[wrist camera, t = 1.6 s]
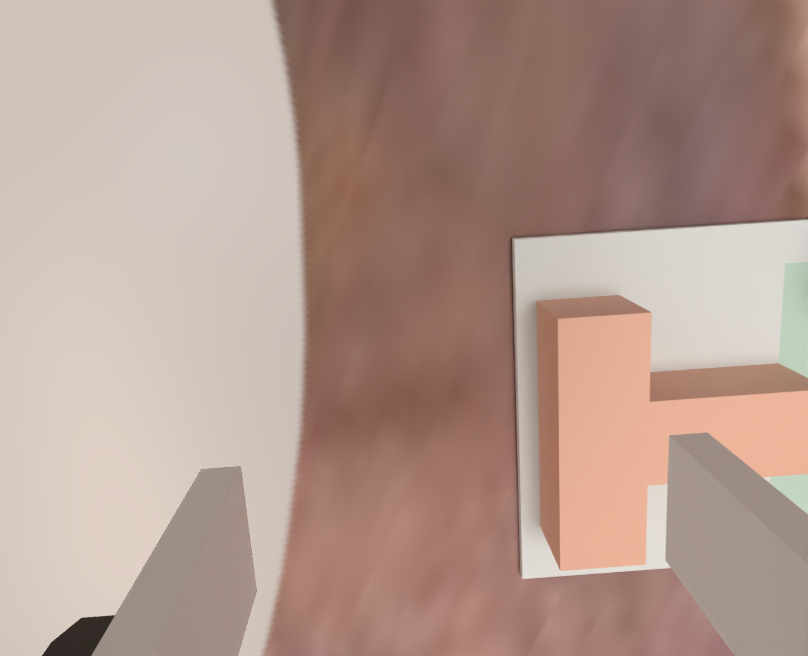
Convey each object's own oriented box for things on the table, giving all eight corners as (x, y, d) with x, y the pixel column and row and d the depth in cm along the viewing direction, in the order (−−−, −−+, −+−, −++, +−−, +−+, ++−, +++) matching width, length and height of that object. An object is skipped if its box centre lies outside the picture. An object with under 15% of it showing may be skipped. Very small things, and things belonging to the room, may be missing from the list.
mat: (512, 238, 32) (514, 239, 32) (1086, 200, 33) (1098, 200, 32) (520, 572, 37) (522, 578, 36) (1029, 533, 37) (1039, 539, 37)
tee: (536, 300, 33) (557, 319, 29) (783, 283, 33) (838, 299, 29) (540, 526, 35) (560, 571, 32) (768, 509, 36) (815, 551, 32)
